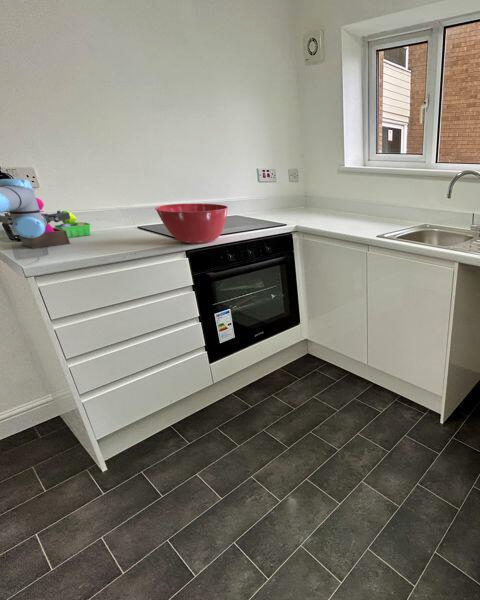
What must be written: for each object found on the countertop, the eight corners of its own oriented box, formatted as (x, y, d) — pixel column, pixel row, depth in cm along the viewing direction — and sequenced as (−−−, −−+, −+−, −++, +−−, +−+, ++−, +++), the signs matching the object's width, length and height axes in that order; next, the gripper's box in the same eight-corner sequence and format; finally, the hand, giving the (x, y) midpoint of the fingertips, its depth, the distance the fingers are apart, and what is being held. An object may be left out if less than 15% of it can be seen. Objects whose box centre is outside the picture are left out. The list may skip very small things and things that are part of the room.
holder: (33, 248, 140) (28, 234, 138) (22, 244, 145) (17, 231, 143) (70, 243, 149) (65, 230, 147) (58, 240, 155) (54, 227, 153)
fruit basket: (63, 238, 157) (55, 213, 153) (56, 236, 162) (47, 211, 158) (94, 234, 167) (87, 210, 162) (86, 232, 171) (79, 209, 167)
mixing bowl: (245, 239, 168) (241, 206, 162) (188, 250, 144) (181, 212, 139) (207, 232, 180) (202, 201, 174) (148, 242, 156) (140, 206, 150)
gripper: (-13, 235, 124) (-3, 226, 139) (79, 229, 139) (79, 221, 154) (-22, 213, 121) (-11, 206, 136) (74, 209, 137) (74, 204, 152)
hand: (37, 214), depth 145 cm, fingers open, 13 cm apart
